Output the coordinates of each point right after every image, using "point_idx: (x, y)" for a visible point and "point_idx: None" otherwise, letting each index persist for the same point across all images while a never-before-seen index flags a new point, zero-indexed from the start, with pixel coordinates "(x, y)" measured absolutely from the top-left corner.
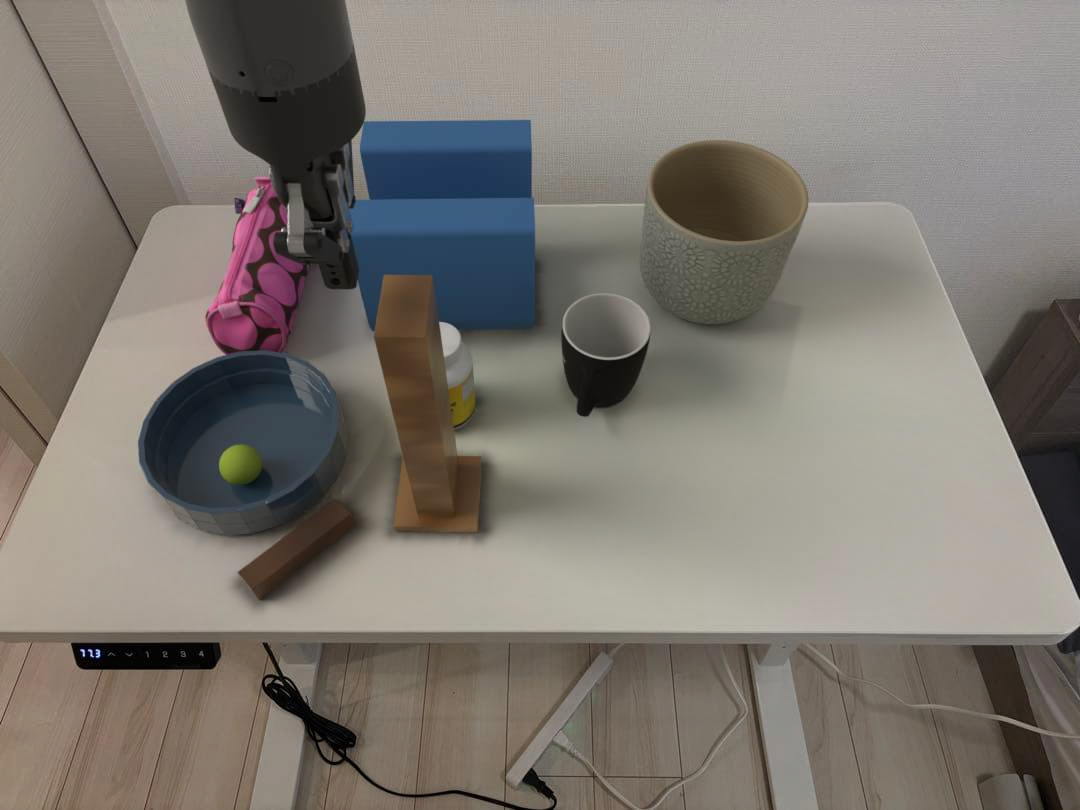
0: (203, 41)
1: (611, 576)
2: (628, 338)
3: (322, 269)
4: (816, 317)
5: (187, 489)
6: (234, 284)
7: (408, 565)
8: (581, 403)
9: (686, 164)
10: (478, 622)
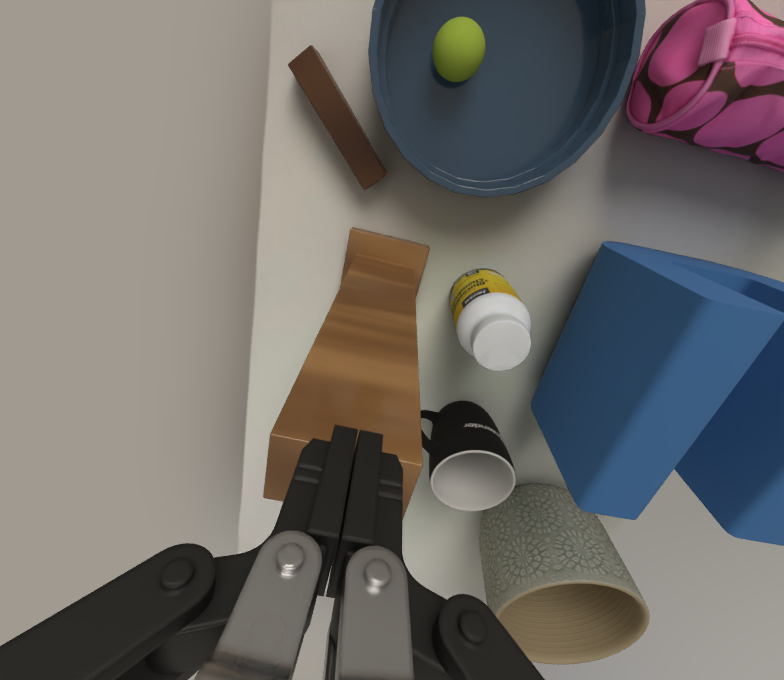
0: None
1: (287, 384)
2: (479, 469)
3: (288, 493)
4: (473, 557)
5: None
6: (768, 52)
7: (315, 234)
8: None
9: (632, 598)
10: (257, 284)
